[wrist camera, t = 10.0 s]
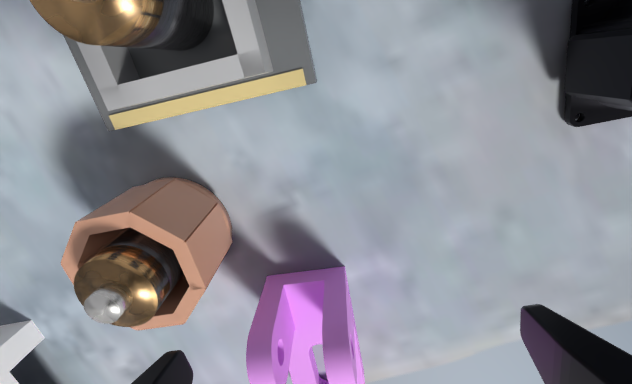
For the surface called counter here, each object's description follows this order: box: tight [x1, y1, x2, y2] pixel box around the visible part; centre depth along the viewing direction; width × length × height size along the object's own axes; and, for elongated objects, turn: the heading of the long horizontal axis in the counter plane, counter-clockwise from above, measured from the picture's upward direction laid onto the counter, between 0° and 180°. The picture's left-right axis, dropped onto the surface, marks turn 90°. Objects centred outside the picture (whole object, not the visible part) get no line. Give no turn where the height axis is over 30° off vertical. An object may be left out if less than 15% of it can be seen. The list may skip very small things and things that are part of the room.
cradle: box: [64, 0, 317, 131], centre depth 15 cm, size 12×10×3 cm
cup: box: [61, 177, 232, 330], centre depth 19 cm, size 7×7×5 cm
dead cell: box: [74, 227, 184, 327], centre depth 17 cm, size 4×4×7 cm
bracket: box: [246, 266, 365, 384], centre depth 21 cm, size 13×6×7 cm, turn 11°
